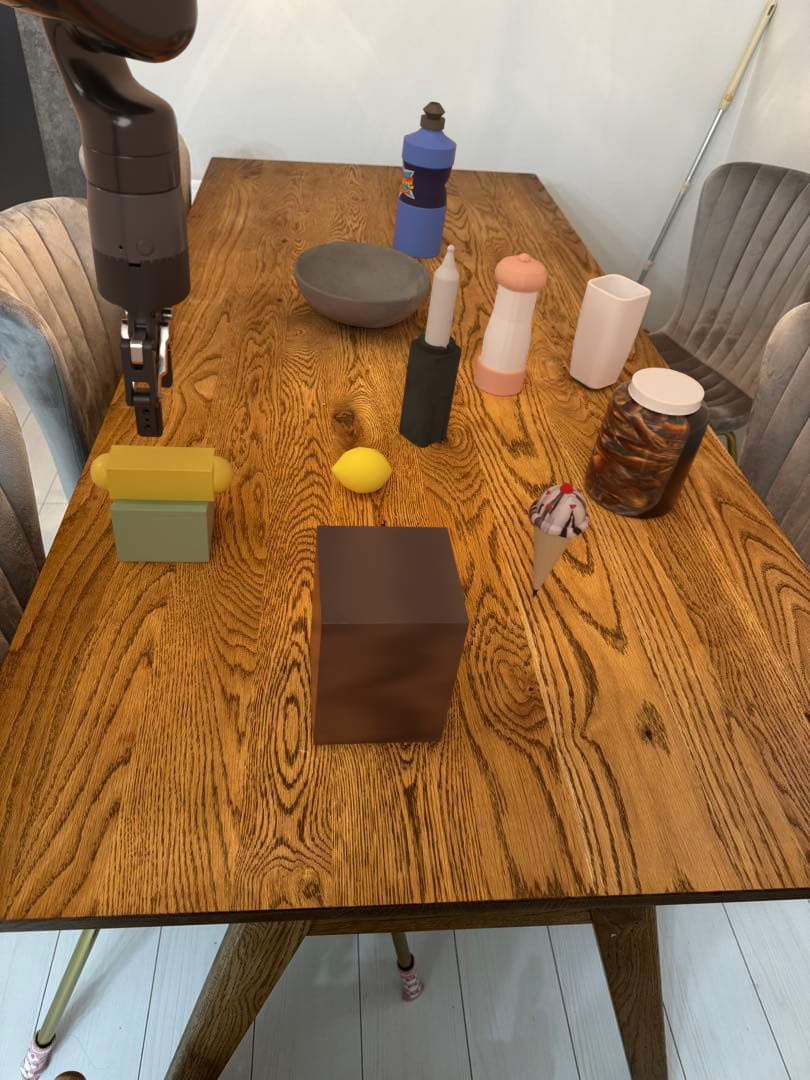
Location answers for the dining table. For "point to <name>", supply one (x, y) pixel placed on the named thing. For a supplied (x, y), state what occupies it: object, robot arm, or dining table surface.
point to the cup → (607, 329)
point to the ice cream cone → (555, 527)
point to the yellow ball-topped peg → (161, 473)
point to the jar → (647, 443)
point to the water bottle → (424, 186)
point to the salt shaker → (510, 326)
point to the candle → (433, 364)
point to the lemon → (362, 470)
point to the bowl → (361, 283)
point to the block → (162, 530)
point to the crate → (384, 634)
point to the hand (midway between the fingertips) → (156, 409)
